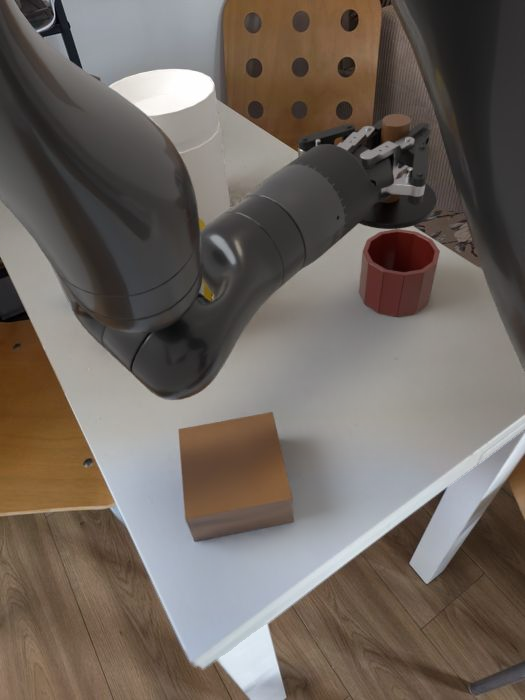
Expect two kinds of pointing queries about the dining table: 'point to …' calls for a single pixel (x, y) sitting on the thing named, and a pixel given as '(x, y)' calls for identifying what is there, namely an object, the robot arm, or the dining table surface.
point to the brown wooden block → (234, 477)
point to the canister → (186, 128)
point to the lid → (396, 207)
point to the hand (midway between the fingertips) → (409, 128)
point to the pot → (397, 272)
